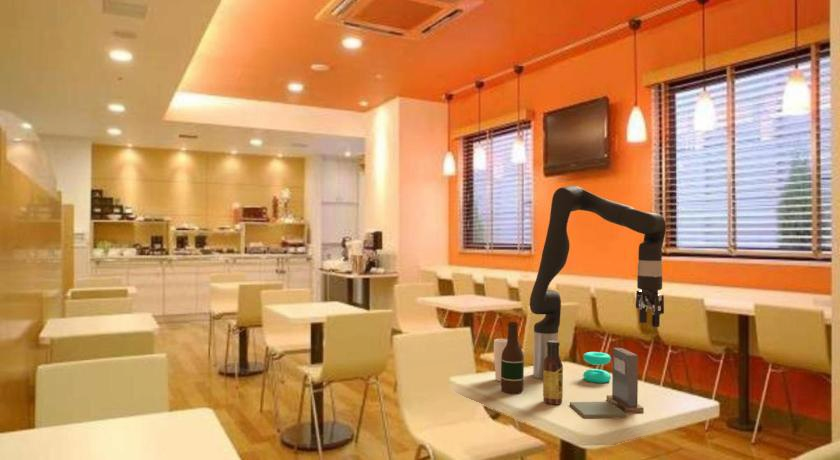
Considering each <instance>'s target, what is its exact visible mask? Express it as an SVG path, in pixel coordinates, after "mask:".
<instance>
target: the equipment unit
mask: <svg viewBox="0 0 840 460" xmlns="http://www.w3.org/2000/svg"><path fill="white" fill-rule="evenodd" d="M638 374H639V355H638V354H636V353H634V352H631V351H630V350H628V349H625V348H624V347H623V348H622V347H612V376H611V379H612V380H611V381H612V382H611V383H612V384H611V385H612V386H611V387H612V388H611V392H612V393H611V394H610V395H608V394H607V395H606V402H610V403H612V404H613V405H614V406H616V407H617V408H619V409H620V410H621V411H623V412H624V413H626V414H627V413H629V414H630V413H631V414H632V413H633V414H634V413H636V414H637V413H644V407H643V406H642V405H640V404H638V397H639V396H638V392H639V390H638V389H639V386H638V383H639V382H638V381H639V379H638V378H639V375H638Z"/></svg>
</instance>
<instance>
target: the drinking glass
mask: <svg viewBox="0 0 840 460" xmlns="http://www.w3.org/2000/svg"><path fill="white" fill-rule="evenodd" d="M506 345H507V338H496V339H494V340H493V357H494V358H493V360H494V361H493V362H494V373H495V374H494V375H495V377H494V378H495V381H498V382H501V358H502V352H503V350H504V348H505V347H506Z"/></svg>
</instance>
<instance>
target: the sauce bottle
mask: <svg viewBox="0 0 840 460" xmlns="http://www.w3.org/2000/svg"><path fill="white" fill-rule="evenodd" d="M563 370H564V366H563V363H562V360H561V357H560V341H559V340H558V341H547V357H546V358H545V360H544V370H543V380H542V383H543V384H542V385H543V386H542V396H543V402H544V403H545V404H548V405H560V404H562V402H563V395H564V392H563V391H564V389H563V387H564V385H563V384H564V382H563V381H564V380H563V379H564V375H563V373H564V371H563Z"/></svg>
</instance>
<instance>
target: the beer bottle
mask: <svg viewBox="0 0 840 460" xmlns="http://www.w3.org/2000/svg"><path fill="white" fill-rule="evenodd" d="M518 327H519V323H518V322H516V321H508V322H507V338H506V339H507V345H506V347H505V348H504V350H503V352H502V358H501V381H500V390H501V392H503V393H505V394H510V395H512V394H513V395H517V394H522V393H523V391H524V376H525V373H524V368H525V367H524V366H525V365H524V363H525V362H524V361H525V360H524V352H523V350H522V348H521V346H520V343H519V332H518V331H519V330H518Z"/></svg>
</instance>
